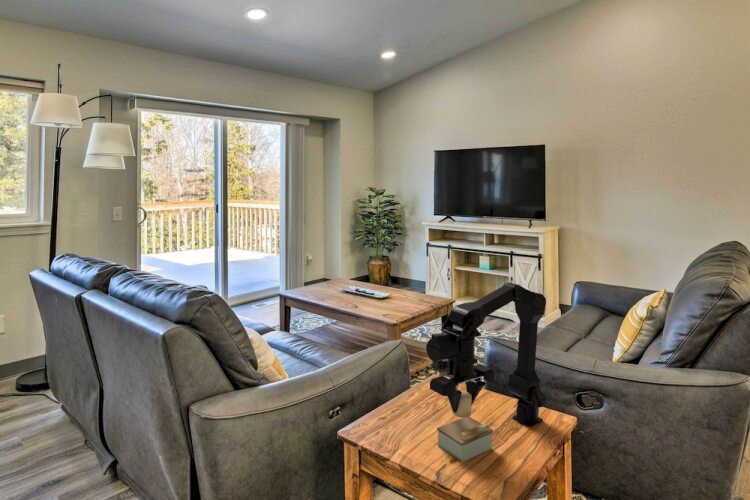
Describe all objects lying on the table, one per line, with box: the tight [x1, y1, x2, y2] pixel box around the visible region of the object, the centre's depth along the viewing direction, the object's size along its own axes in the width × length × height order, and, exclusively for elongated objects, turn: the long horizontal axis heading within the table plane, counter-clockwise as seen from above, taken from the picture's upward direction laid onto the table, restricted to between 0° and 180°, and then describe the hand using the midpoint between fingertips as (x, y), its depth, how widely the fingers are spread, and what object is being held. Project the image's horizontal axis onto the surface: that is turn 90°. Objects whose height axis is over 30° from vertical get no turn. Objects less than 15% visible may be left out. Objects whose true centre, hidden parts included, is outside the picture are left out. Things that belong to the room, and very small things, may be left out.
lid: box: [436, 416, 494, 446], centre depth 122 cm, size 12×9×2 cm
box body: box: [437, 430, 493, 463], centre depth 122 cm, size 11×9×4 cm
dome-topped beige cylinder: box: [451, 390, 472, 418], centre depth 122 cm, size 5×5×5 cm
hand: (461, 409), depth 123 cm, fingers closed on dome-topped beige cylinder, 5 cm apart
